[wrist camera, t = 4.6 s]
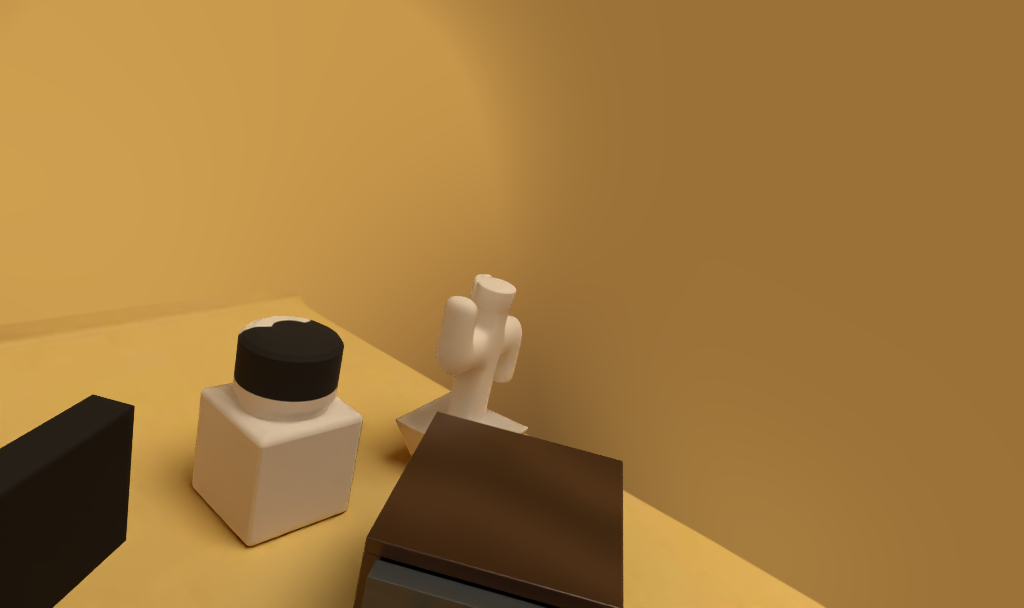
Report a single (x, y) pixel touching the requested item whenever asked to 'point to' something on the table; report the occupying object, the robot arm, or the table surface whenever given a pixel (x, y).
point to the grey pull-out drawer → (432, 590)
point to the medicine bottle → (278, 432)
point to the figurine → (472, 358)
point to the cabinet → (506, 516)
